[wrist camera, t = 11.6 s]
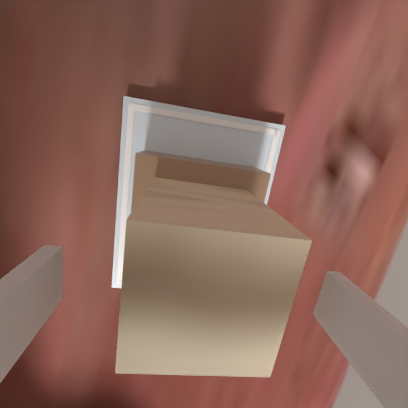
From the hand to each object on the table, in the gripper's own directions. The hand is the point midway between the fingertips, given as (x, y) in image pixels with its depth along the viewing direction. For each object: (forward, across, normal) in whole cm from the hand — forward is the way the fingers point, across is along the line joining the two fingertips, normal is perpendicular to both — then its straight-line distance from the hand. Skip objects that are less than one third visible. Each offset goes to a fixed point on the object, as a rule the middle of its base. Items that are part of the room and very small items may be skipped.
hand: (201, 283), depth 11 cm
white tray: (+12, 0, 0) cm, 12 cm away
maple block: (+7, 0, 0) cm, 7 cm away
